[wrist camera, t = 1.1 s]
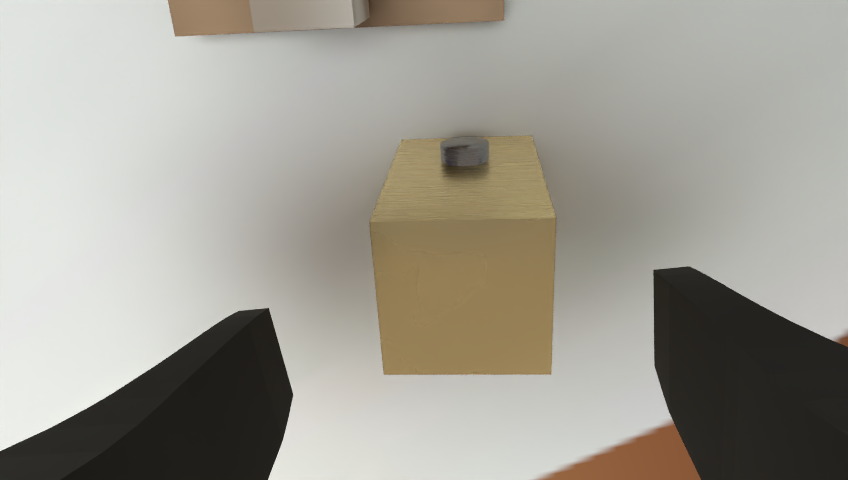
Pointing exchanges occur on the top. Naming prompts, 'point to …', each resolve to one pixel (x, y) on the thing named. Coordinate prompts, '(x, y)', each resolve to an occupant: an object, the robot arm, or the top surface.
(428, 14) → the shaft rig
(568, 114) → the top surface
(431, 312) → the wooden block with knob
